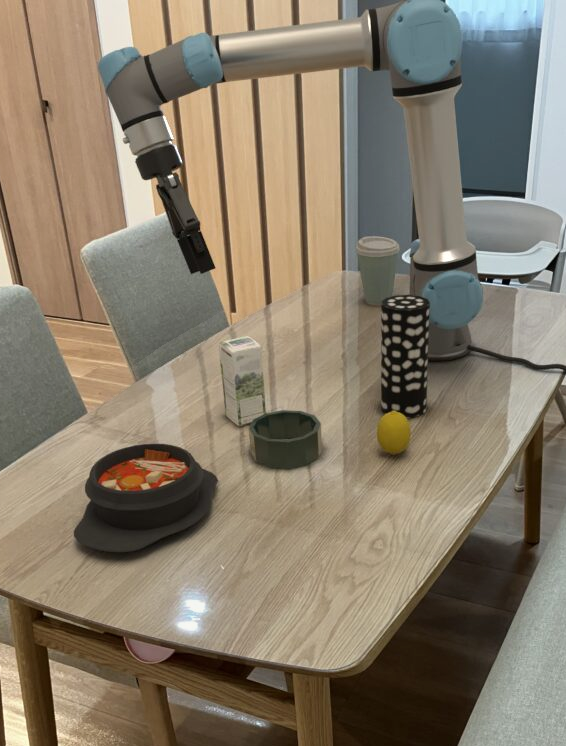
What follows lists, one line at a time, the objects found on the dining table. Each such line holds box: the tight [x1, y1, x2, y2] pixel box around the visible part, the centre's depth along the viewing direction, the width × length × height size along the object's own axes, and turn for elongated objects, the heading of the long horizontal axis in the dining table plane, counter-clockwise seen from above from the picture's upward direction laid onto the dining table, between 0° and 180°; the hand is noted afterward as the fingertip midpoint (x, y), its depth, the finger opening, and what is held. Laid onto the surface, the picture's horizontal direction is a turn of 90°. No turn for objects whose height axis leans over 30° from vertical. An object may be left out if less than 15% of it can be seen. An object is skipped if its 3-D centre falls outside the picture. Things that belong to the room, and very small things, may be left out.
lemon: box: [376, 411, 412, 456], centre depth 135 cm, size 6×6×8 cm
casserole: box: [73, 443, 219, 553], centre depth 121 cm, size 25×19×8 cm
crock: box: [248, 409, 323, 470], centre depth 138 cm, size 12×12×5 cm
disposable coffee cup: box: [355, 235, 400, 307], centre depth 201 cm, size 11×11×15 cm
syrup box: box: [218, 335, 267, 428], centre depth 147 cm, size 6×6×14 cm
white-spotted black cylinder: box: [380, 294, 430, 419], centre depth 147 cm, size 8×8×20 cm
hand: (202, 271), depth 149 cm, fingers open, 13 cm apart
